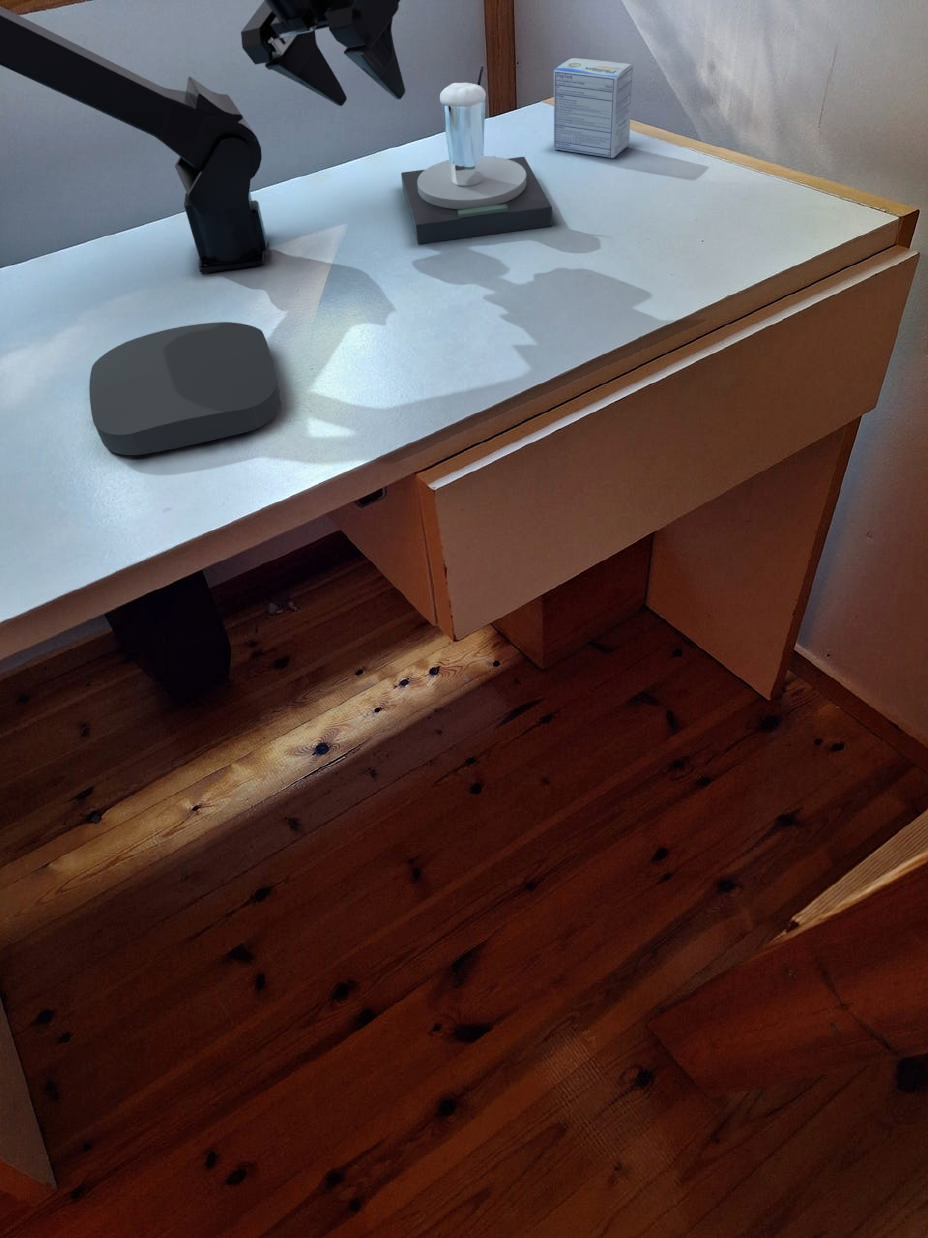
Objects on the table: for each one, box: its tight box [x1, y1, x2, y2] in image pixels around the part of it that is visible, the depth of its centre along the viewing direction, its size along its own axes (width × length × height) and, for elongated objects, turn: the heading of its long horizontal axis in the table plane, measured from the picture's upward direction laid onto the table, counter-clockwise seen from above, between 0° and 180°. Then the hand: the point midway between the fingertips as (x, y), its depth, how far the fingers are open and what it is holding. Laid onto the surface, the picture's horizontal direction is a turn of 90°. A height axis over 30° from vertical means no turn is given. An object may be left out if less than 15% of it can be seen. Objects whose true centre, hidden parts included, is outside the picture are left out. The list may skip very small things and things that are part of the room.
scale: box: [400, 155, 553, 245], centre depth 96 cm, size 14×14×3 cm
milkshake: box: [439, 64, 487, 186], centre depth 92 cm, size 4×5×10 cm
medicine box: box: [553, 57, 634, 159], centre depth 103 cm, size 8×4×9 cm, turn 58°
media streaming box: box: [88, 321, 282, 456], centre depth 74 cm, size 15×15×3 cm
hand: (371, 99), depth 88 cm, fingers open, 9 cm apart
